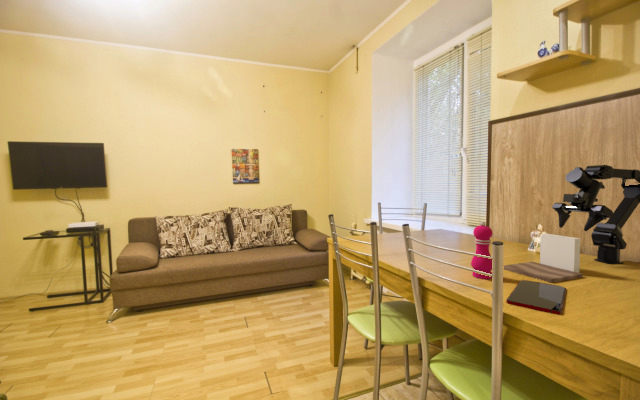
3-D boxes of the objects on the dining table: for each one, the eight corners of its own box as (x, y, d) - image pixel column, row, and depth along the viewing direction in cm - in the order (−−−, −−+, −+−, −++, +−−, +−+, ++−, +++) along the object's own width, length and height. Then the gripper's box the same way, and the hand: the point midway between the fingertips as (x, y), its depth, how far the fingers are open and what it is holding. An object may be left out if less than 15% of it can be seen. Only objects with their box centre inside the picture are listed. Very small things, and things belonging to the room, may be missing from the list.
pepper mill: (473, 272, 112) (474, 219, 111) (495, 275, 108) (496, 220, 107) (468, 277, 107) (469, 221, 106) (491, 281, 102) (492, 223, 101)
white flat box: (545, 265, 120) (545, 233, 119) (579, 273, 109) (580, 238, 108) (539, 266, 119) (540, 233, 118) (573, 274, 108) (574, 239, 107)
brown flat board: (531, 264, 122) (531, 261, 122) (582, 277, 105) (582, 273, 105) (502, 268, 117) (502, 265, 116) (551, 282, 100) (551, 279, 99)
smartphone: (566, 286, 94) (561, 311, 75) (566, 291, 94) (561, 317, 75) (520, 278, 102) (504, 299, 84) (520, 283, 102) (504, 305, 84)
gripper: (550, 184, 126) (535, 217, 125) (601, 184, 108) (584, 223, 107) (568, 196, 129) (553, 229, 128) (620, 198, 111) (604, 236, 110)
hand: (572, 229), depth 118 cm, fingers open, 9 cm apart
